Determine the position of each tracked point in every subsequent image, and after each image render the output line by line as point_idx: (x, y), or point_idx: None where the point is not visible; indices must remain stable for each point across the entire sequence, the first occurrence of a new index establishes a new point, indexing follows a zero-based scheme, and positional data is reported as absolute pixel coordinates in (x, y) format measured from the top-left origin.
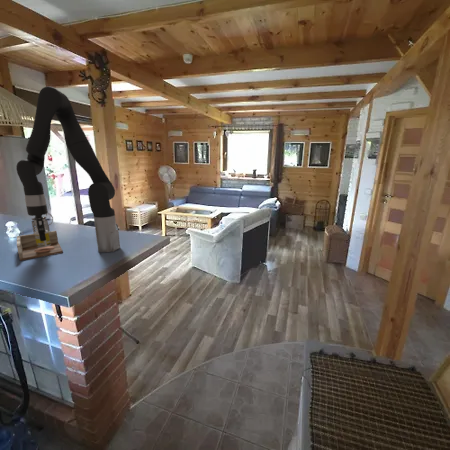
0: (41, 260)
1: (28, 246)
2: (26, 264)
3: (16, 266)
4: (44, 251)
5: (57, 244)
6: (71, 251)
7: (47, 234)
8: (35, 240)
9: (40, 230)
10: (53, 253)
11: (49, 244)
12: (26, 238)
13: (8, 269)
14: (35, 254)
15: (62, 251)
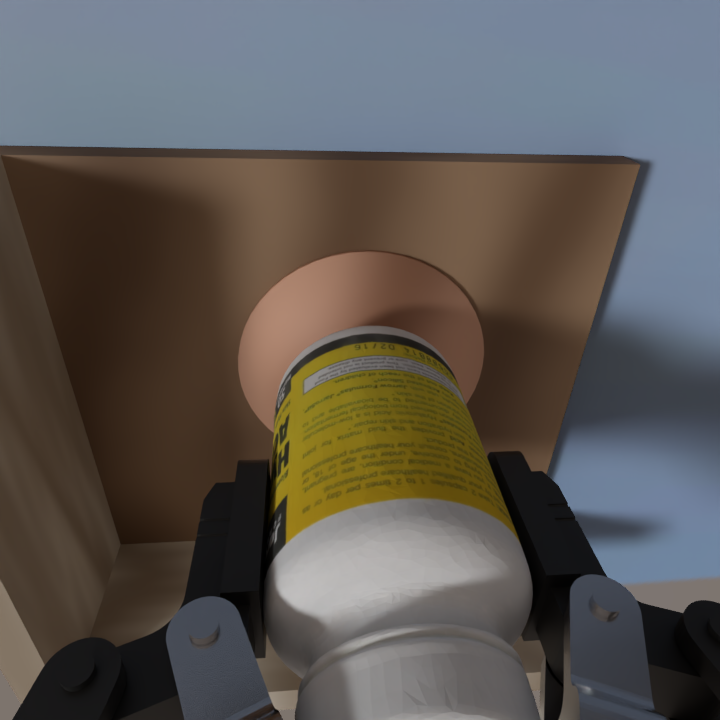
0: (680, 391)
1: (105, 507)
2: (668, 486)
3: (645, 535)
4: (480, 374)
5: (181, 188)
6: (673, 18)
7: (484, 489)
8: (58, 499)
9: (716, 713)
10: (598, 281)
11: (433, 350)
12: (63, 616)
13: (663, 566)
14: (502, 447)
15: (634, 167)
